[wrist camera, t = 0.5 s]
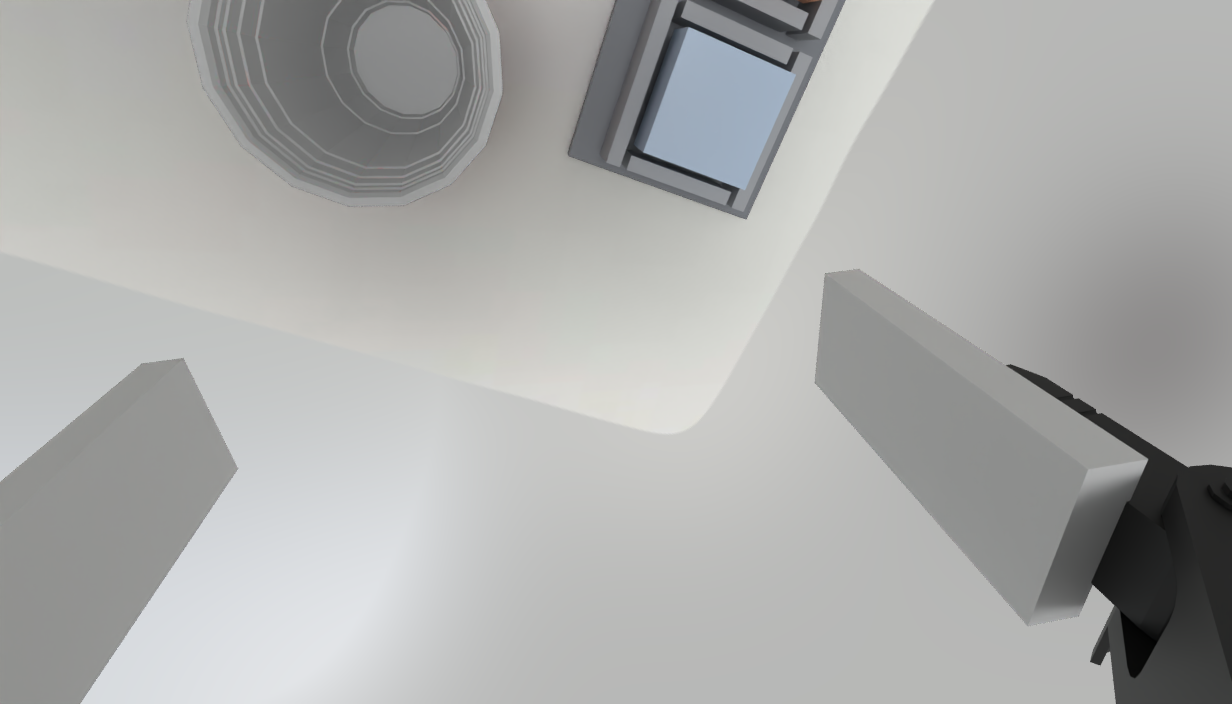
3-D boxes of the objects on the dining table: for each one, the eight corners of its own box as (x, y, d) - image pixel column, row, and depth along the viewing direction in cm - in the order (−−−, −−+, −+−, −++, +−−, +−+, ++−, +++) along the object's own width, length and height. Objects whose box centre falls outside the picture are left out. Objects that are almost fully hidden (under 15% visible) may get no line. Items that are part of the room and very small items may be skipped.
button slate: (674, 29, 30) (688, 26, 28) (773, 73, 32) (796, 74, 29) (633, 144, 32) (643, 152, 30) (727, 179, 34) (744, 190, 31)
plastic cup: (547, 31, 32) (558, 19, 21) (452, 197, 35) (421, 258, 25) (355, -117, 28) (253, -221, 18) (268, 85, 31) (137, 100, 21)
